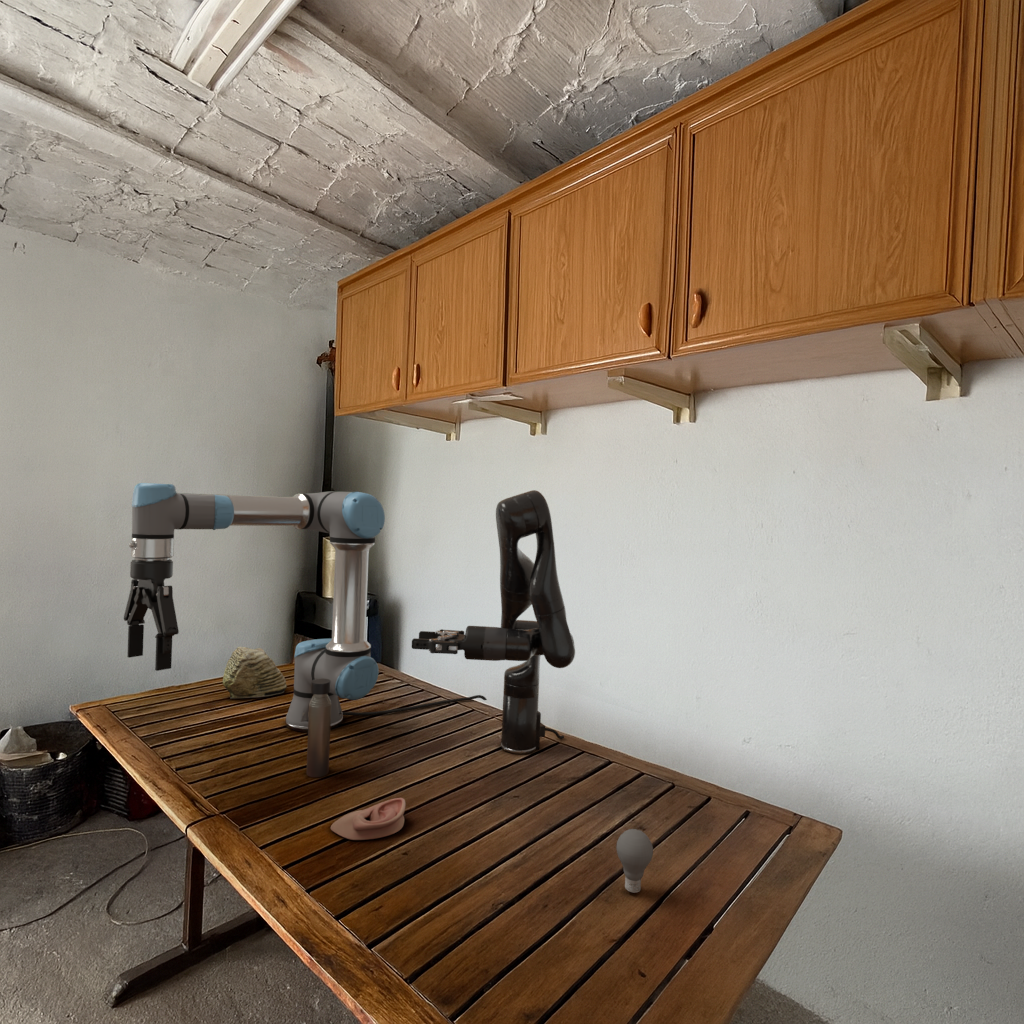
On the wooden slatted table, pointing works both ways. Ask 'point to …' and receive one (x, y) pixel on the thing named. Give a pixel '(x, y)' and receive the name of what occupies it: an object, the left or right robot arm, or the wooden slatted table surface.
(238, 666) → the fossil
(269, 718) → the wooden slatted table surface
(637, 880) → the light bulb
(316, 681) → the cap
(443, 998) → the wooden slatted table surface
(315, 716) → the bottle
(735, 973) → the wooden slatted table surface
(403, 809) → the anatomical model
